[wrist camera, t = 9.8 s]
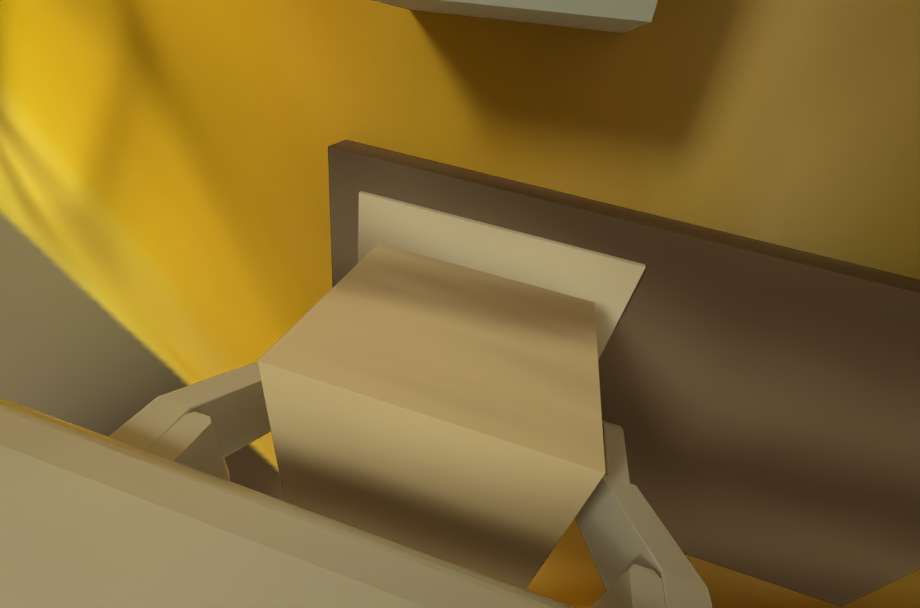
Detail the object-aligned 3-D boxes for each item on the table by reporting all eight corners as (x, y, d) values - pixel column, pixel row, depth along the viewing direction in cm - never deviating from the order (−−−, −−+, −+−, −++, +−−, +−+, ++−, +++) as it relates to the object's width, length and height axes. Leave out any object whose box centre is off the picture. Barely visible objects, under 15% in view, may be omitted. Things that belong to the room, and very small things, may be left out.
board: (346, 139, 11) (324, 147, 10) (1229, 355, 9) (1306, 391, 8) (347, 419, 19) (335, 438, 18) (828, 579, 16) (843, 611, 15)
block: (379, 243, 11) (257, 360, 7) (594, 302, 10) (605, 473, 6) (372, 389, 14) (289, 525, 10) (532, 440, 13) (512, 608, 9)
